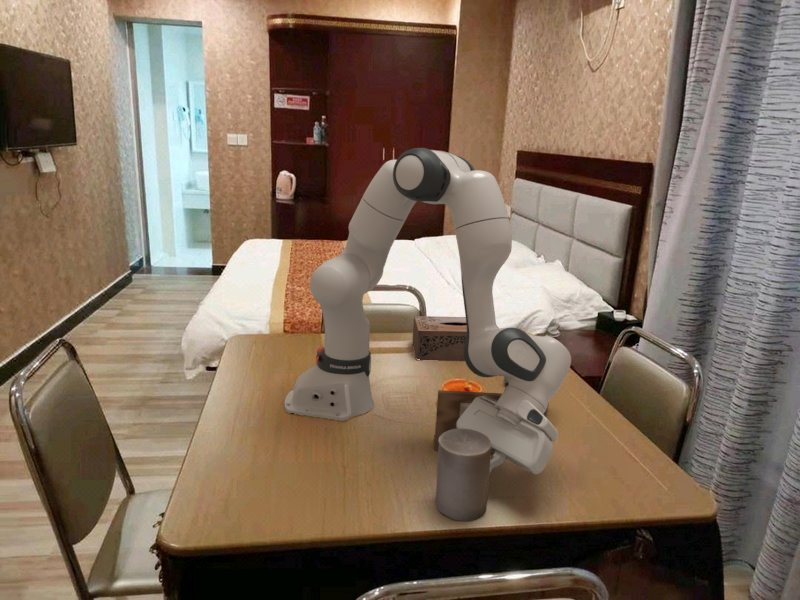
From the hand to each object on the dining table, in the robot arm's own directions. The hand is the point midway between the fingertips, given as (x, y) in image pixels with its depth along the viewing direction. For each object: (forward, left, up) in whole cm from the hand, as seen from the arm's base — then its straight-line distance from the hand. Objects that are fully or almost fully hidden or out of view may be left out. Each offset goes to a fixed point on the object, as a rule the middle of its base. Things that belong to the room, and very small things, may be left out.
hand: (480, 470), depth 112 cm
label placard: (+4, +18, -5) cm, 19 cm away
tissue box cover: (+1, +77, -6) cm, 77 cm away
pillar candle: (-4, -4, -6) cm, 8 cm away
